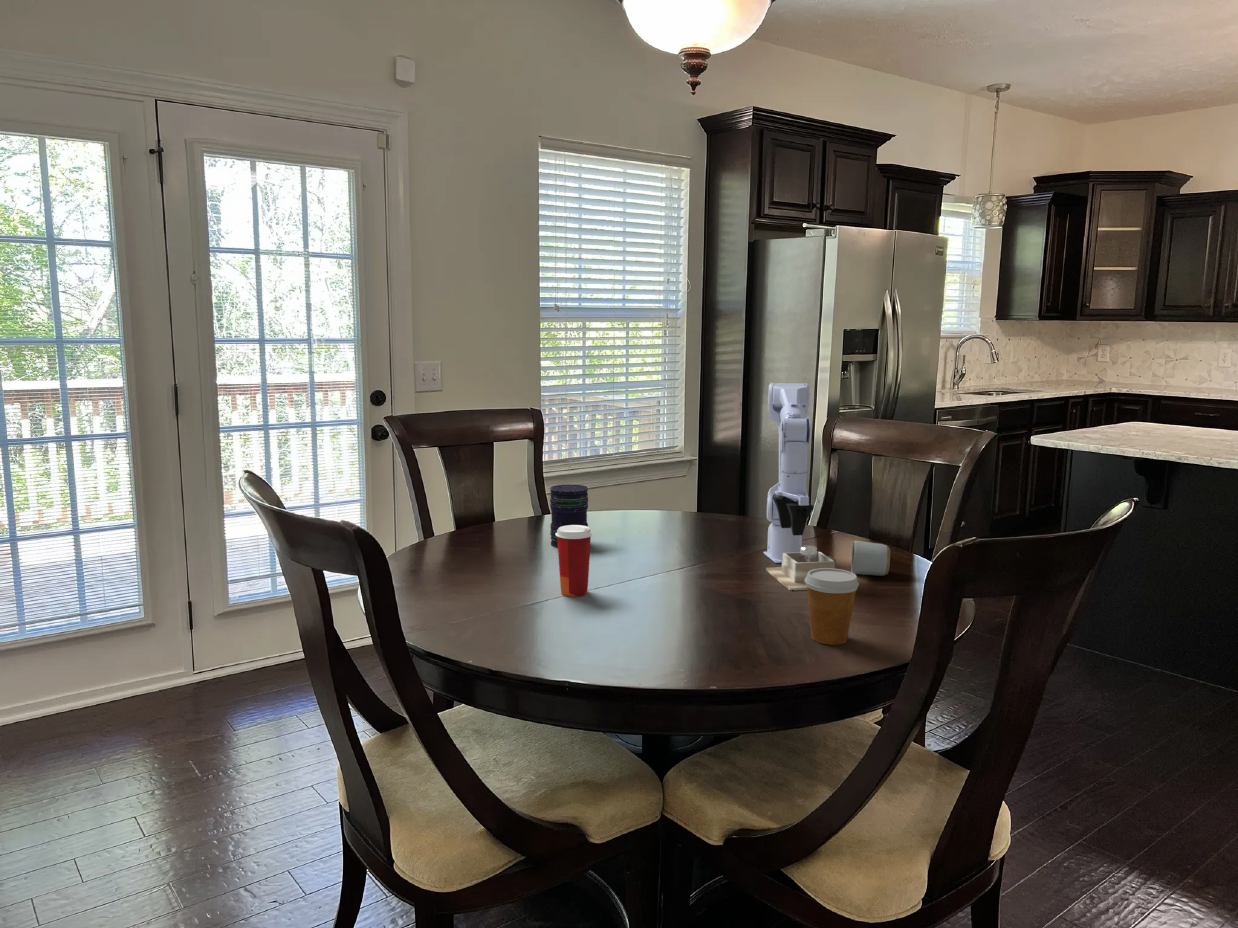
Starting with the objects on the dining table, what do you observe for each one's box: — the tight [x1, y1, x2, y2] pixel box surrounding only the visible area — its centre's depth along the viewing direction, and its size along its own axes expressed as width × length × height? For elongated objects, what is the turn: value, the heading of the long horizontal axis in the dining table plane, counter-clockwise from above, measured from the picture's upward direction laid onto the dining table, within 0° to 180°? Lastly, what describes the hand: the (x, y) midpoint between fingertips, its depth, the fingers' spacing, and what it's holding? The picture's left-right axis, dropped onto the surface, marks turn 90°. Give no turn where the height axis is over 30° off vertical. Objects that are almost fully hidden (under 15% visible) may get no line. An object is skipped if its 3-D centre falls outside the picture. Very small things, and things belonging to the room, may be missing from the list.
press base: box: [765, 551, 837, 591], centre depth 193 cm, size 16×14×5 cm
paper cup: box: [555, 525, 593, 598], centre depth 181 cm, size 8×8×14 cm
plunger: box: [800, 544, 818, 562], centre depth 193 cm, size 7×7×6 cm
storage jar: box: [549, 484, 589, 549], centre depth 223 cm, size 10×10×15 cm
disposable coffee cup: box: [805, 568, 860, 646], centre depth 155 cm, size 10×10×12 cm
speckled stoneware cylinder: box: [850, 540, 891, 577], centre depth 198 cm, size 11×8×8 cm
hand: (791, 531), depth 194 cm, fingers open, 7 cm apart
